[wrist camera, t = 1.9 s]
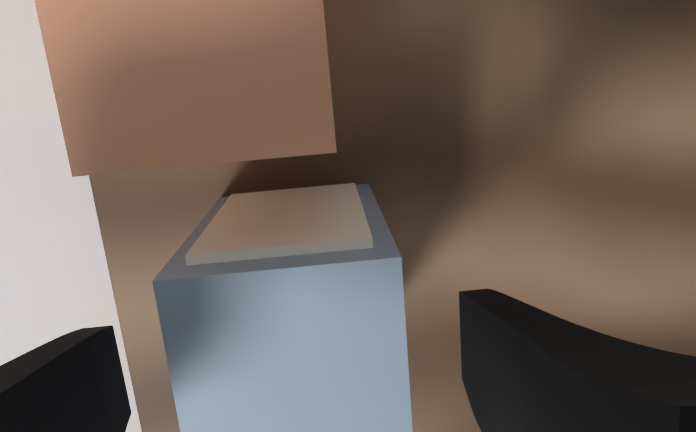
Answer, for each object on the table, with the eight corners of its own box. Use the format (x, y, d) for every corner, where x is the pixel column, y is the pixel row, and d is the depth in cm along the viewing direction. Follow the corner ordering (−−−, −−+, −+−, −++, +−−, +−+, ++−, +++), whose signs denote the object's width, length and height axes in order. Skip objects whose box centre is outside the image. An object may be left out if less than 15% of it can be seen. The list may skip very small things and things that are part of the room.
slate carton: (379, 318, 18) (414, 467, 11) (240, 332, 18) (191, 491, 11) (368, 176, 17) (400, 246, 10) (220, 190, 17) (149, 270, 10)
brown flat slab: (779, 385, 20) (855, 436, 18) (158, 450, 20) (130, 514, 17) (850, -167, 16) (968, -221, 13) (47, -104, 15) (-18, -146, 12)
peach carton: (330, 120, 16) (336, 152, 9) (176, 133, 16) (72, 176, 9) (314, -53, 15) (308, -159, 8) (148, -40, 15) (5, -136, 8)
